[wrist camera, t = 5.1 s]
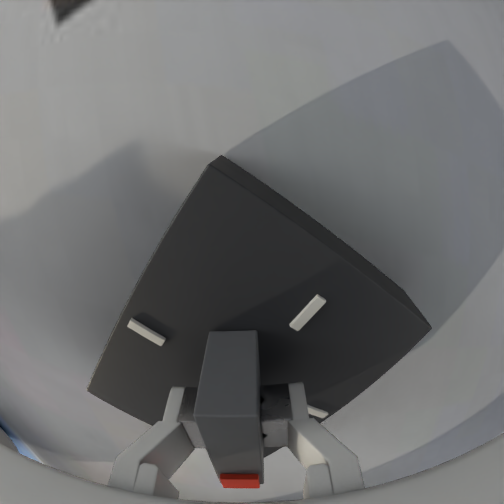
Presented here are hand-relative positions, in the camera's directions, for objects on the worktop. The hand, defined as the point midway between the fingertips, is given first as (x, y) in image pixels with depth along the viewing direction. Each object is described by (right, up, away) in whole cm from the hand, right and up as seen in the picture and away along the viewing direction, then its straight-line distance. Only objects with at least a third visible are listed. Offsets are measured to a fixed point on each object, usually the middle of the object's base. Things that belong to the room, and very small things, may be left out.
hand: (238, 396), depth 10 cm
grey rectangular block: (0, 0, +1) cm, 1 cm away
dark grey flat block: (0, +2, +4) cm, 4 cm away
